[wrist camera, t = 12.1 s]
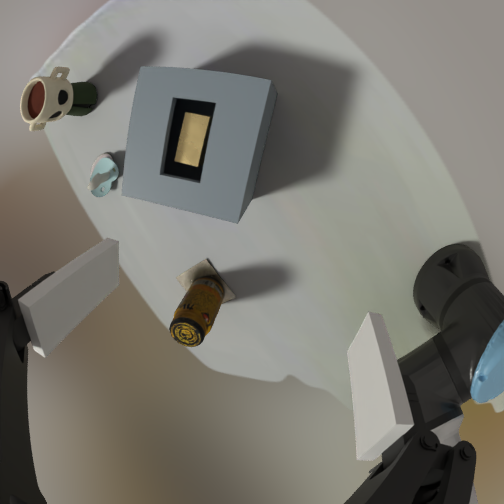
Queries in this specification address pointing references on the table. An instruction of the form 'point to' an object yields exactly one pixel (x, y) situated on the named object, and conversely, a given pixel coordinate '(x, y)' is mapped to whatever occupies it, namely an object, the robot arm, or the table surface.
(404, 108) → the table surface
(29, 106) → the character mug
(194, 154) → the gold brushed block
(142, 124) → the box
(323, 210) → the table surface
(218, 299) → the condiment
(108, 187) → the pacifier
